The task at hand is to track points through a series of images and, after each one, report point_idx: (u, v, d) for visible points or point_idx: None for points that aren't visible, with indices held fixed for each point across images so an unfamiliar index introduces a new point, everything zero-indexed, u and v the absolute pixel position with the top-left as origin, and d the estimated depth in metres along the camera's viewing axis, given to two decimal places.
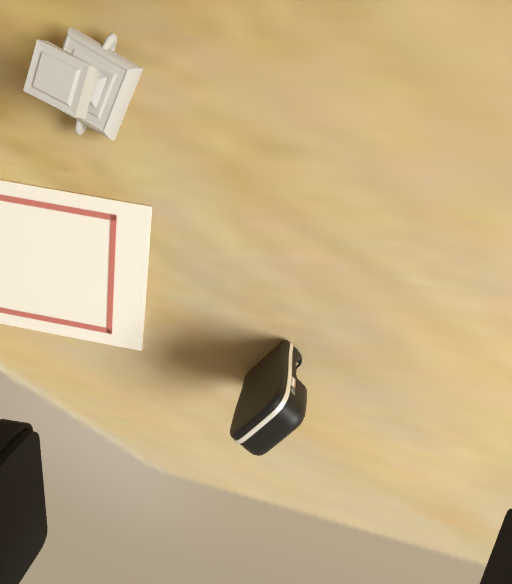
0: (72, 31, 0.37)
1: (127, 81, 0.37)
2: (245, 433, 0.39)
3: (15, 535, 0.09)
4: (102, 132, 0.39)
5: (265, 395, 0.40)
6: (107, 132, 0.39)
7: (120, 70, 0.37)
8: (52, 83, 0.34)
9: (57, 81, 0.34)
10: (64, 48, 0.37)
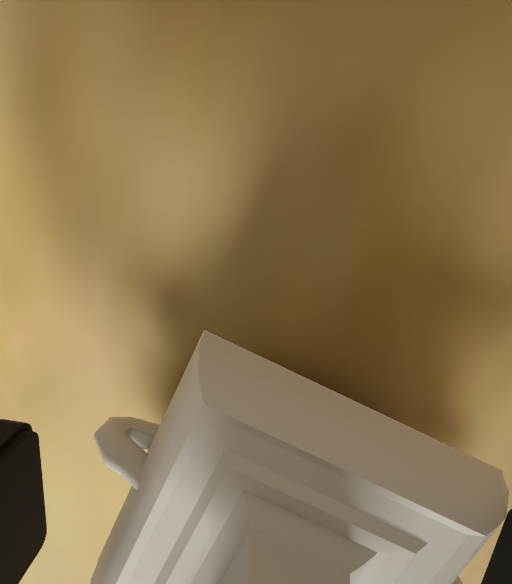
0: (494, 527, 0.08)
1: None
2: None
3: (14, 535, 0.09)
4: None
5: None
6: None
7: None
8: None
9: None
10: (428, 510, 0.08)
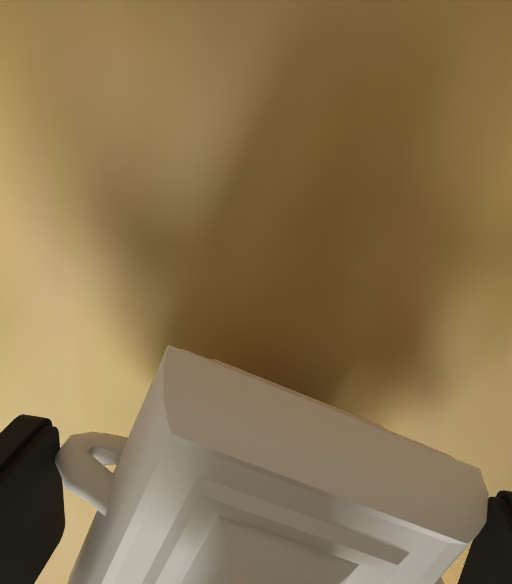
0: (474, 531, 0.08)
1: None
2: None
3: (36, 528, 0.09)
4: None
5: None
6: None
7: None
8: None
9: None
10: (411, 523, 0.08)
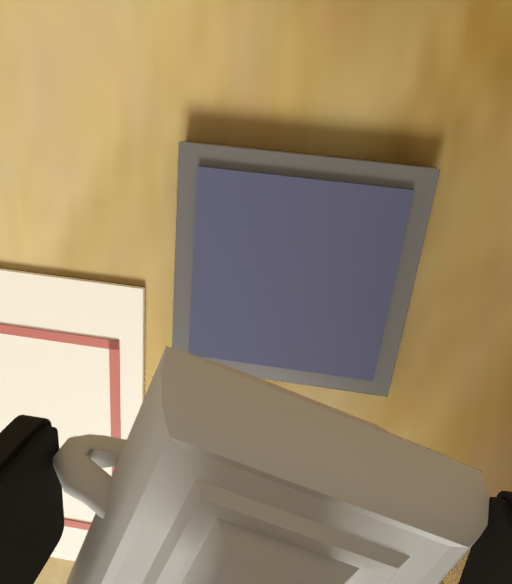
0: (476, 535, 0.08)
1: None
2: None
3: (35, 528, 0.09)
4: None
5: None
6: None
7: None
8: None
9: None
10: (411, 526, 0.08)
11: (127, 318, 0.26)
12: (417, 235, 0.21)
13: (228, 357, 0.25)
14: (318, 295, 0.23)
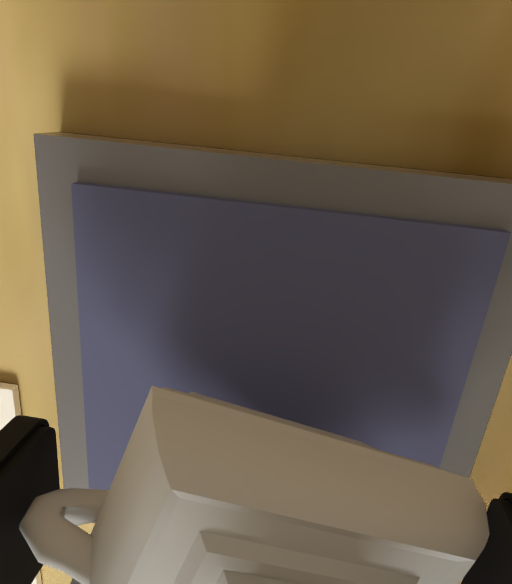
0: (478, 545, 0.08)
1: None
2: None
3: None
4: None
5: None
6: None
7: None
8: None
9: None
10: (422, 547, 0.07)
11: None
12: (508, 317, 0.11)
13: None
14: (314, 420, 0.12)
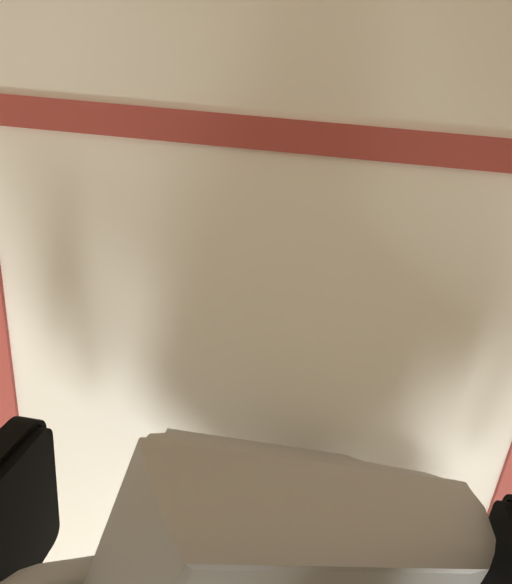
0: (485, 551, 0.08)
1: None
2: None
3: (30, 530, 0.09)
4: None
5: None
6: None
7: None
8: None
9: None
10: (440, 568, 0.07)
11: None
12: None
13: None
14: None
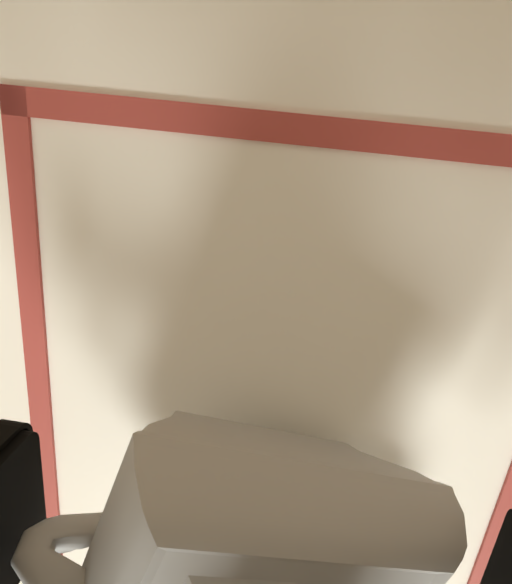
0: (456, 554, 0.09)
1: None
2: None
3: (15, 535, 0.09)
4: None
5: None
6: None
7: None
8: None
9: None
10: (403, 568, 0.08)
11: None
12: None
13: None
14: None
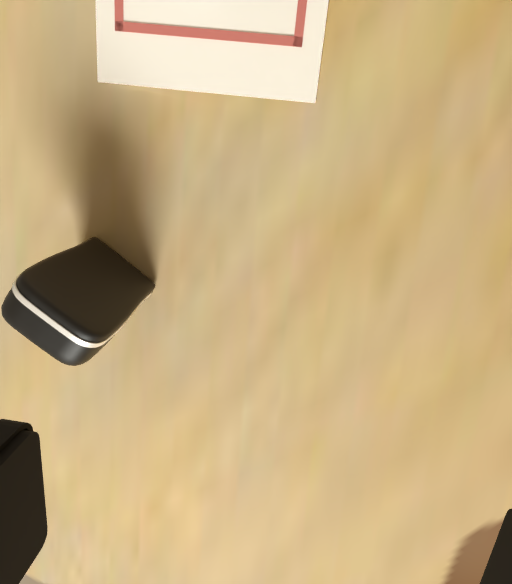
0: None
1: None
2: (31, 302, 0.28)
3: (15, 535, 0.09)
4: None
5: (91, 312, 0.30)
6: None
7: None
8: None
9: None
10: None
11: None
12: None
13: None
14: None
